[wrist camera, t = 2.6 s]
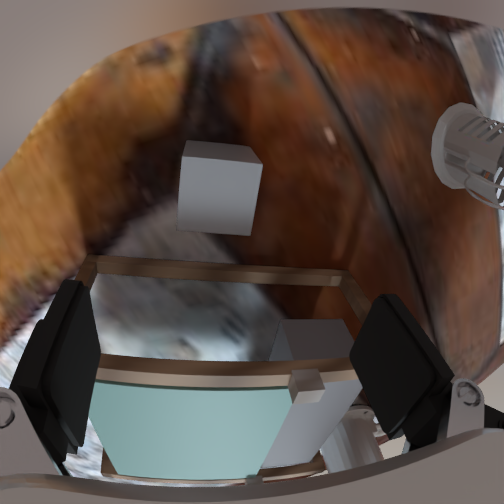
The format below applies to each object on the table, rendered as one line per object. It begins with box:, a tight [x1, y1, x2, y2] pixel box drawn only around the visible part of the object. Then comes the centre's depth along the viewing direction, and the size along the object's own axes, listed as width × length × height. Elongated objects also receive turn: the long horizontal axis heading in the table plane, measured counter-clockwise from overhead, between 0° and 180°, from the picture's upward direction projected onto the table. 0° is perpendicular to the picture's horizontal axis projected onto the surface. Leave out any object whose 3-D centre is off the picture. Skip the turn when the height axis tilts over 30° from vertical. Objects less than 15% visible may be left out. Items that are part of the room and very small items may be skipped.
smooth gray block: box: [176, 140, 263, 236], centre depth 23 cm, size 5×5×6 cm
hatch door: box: [88, 319, 363, 480], centre depth 27 cm, size 22×18×8 cm
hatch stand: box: [75, 254, 372, 485], centre depth 28 cm, size 26×21×14 cm
